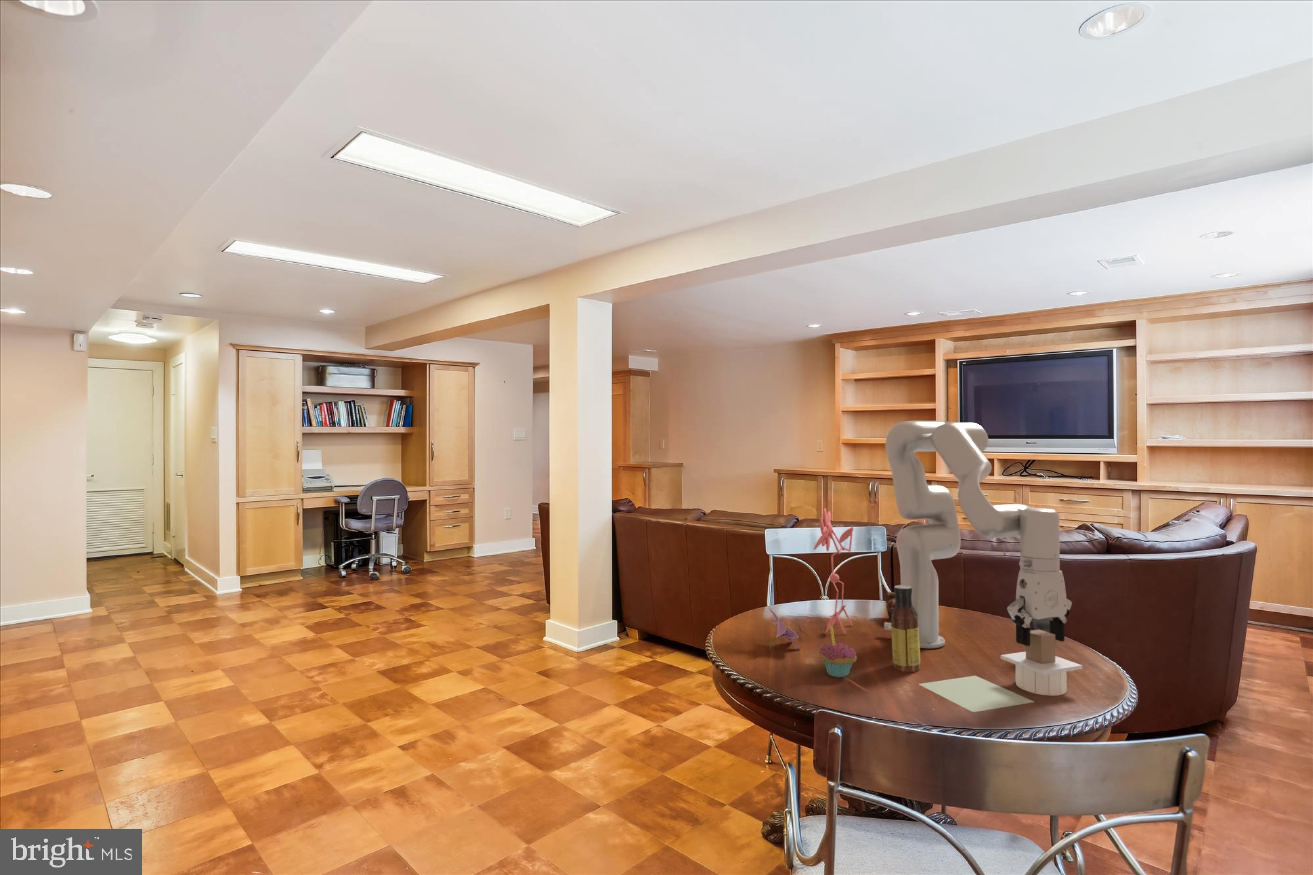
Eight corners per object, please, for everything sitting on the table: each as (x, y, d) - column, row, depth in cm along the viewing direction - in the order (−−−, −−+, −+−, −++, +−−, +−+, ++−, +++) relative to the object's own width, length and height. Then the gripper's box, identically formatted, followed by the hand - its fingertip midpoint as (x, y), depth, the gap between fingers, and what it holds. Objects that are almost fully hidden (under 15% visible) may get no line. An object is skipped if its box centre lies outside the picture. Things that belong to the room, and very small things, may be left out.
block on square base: (1043, 675, 138) (1043, 642, 138) (1000, 658, 149) (1000, 628, 149) (1082, 669, 142) (1081, 637, 142) (1038, 653, 152) (1037, 623, 152)
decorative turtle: (895, 613, 208) (897, 588, 207) (935, 629, 194) (937, 602, 194) (872, 616, 203) (874, 590, 203) (911, 632, 190) (914, 604, 189)
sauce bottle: (919, 666, 160) (919, 584, 160) (921, 675, 154) (920, 590, 154) (891, 663, 162) (890, 582, 162) (891, 672, 156) (890, 588, 156)
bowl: (1016, 692, 143) (1016, 667, 143) (1015, 677, 152) (1014, 654, 152) (1068, 700, 139) (1068, 674, 139) (1063, 684, 147) (1063, 660, 147)
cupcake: (836, 682, 150) (836, 629, 150) (811, 671, 157) (811, 620, 157) (864, 676, 154) (864, 624, 154) (838, 665, 161) (838, 616, 161)
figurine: (861, 619, 201) (857, 504, 201) (842, 642, 178) (838, 513, 179) (811, 614, 208) (808, 503, 209) (787, 636, 186) (783, 512, 186)
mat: (973, 714, 132) (973, 712, 132) (918, 685, 147) (918, 684, 147) (1034, 703, 137) (1034, 701, 137) (975, 677, 152) (975, 675, 152)
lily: (797, 662, 166) (811, 626, 169) (754, 640, 169) (769, 606, 172) (793, 661, 178) (807, 628, 180) (753, 641, 181) (767, 609, 183)
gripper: (1023, 570, 139) (1024, 651, 139) (1084, 564, 144) (1085, 642, 144) (995, 563, 146) (995, 641, 146) (1054, 559, 152) (1055, 633, 152)
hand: (1040, 641), depth 145 cm, fingers open, 9 cm apart
